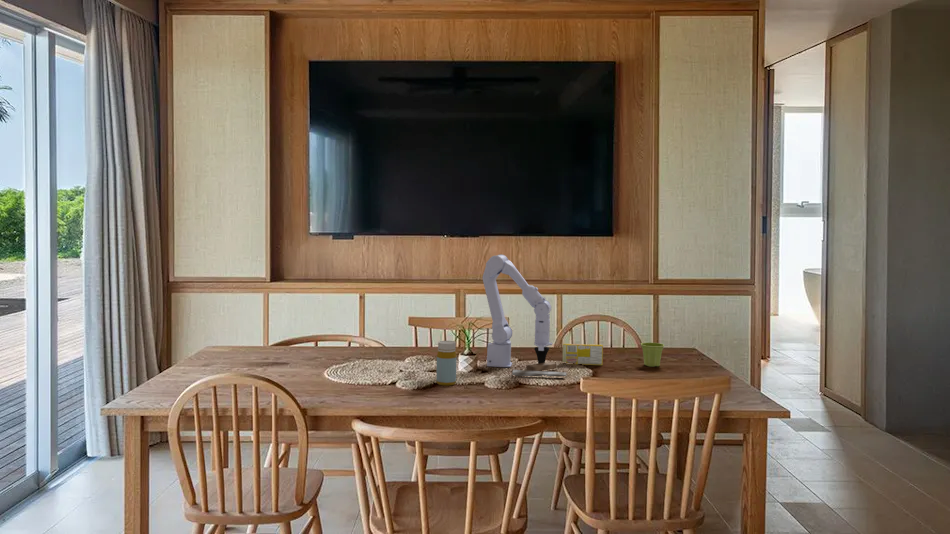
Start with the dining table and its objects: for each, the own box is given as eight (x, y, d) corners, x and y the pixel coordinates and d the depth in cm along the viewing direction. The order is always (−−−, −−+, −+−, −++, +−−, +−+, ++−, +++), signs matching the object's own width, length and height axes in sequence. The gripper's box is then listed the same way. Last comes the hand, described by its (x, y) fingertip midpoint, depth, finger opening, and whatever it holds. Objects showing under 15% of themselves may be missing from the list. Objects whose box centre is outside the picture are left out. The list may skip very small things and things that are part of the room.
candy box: (602, 364, 324) (602, 344, 323) (602, 365, 322) (603, 345, 321) (562, 363, 325) (562, 343, 325) (562, 364, 323) (562, 344, 322)
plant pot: (638, 366, 321) (638, 345, 320) (642, 362, 330) (643, 341, 329) (661, 368, 317) (662, 347, 317) (665, 364, 326) (666, 343, 325)
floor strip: (512, 376, 297) (512, 372, 297) (513, 373, 303) (513, 369, 303) (565, 379, 295) (565, 374, 295) (566, 376, 300) (566, 371, 300)
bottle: (448, 387, 279) (449, 344, 277) (432, 384, 282) (433, 342, 281) (459, 383, 284) (460, 341, 283) (443, 380, 288) (444, 339, 287)
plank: (532, 374, 303) (533, 366, 303) (526, 372, 306) (526, 365, 306) (556, 371, 310) (556, 363, 310) (549, 369, 314) (549, 361, 313)
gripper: (551, 335, 304) (550, 370, 306) (553, 329, 319) (552, 362, 320) (533, 334, 305) (532, 369, 306) (535, 328, 320) (534, 361, 321)
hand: (541, 365), depth 313 cm, fingers closed
